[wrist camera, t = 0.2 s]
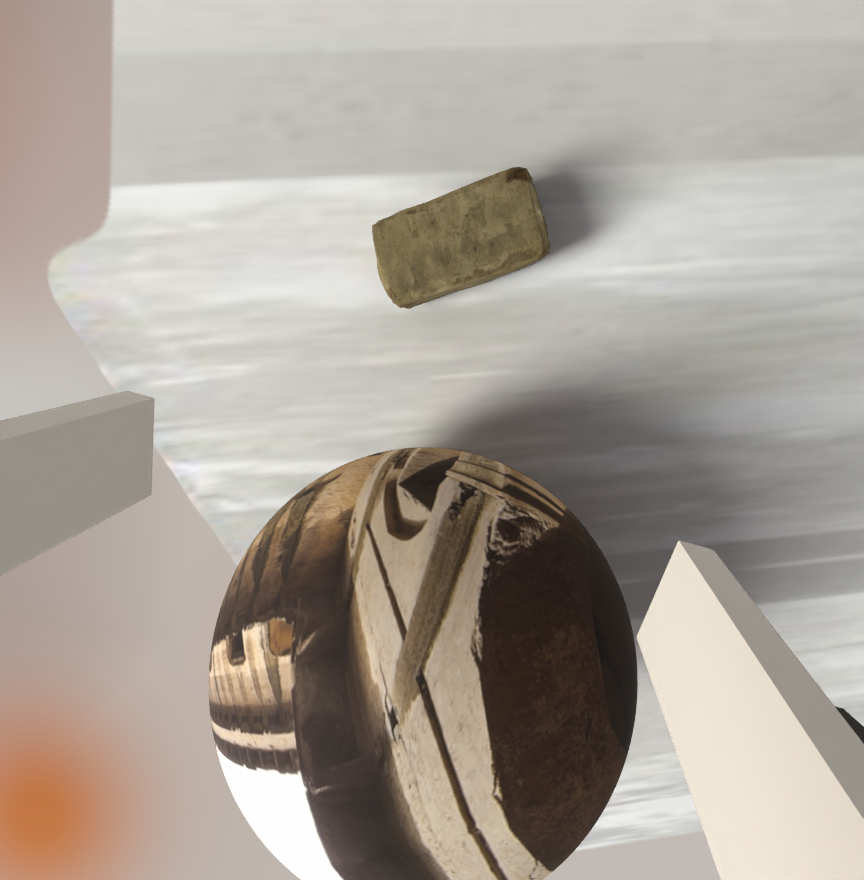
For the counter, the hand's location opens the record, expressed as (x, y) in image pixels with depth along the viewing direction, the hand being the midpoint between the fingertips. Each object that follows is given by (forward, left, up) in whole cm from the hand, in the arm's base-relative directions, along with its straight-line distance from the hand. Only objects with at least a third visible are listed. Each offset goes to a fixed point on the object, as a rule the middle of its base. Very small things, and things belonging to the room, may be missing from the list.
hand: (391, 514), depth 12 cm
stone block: (-10, 0, -28) cm, 30 cm away
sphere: (+16, +1, -27) cm, 32 cm away
